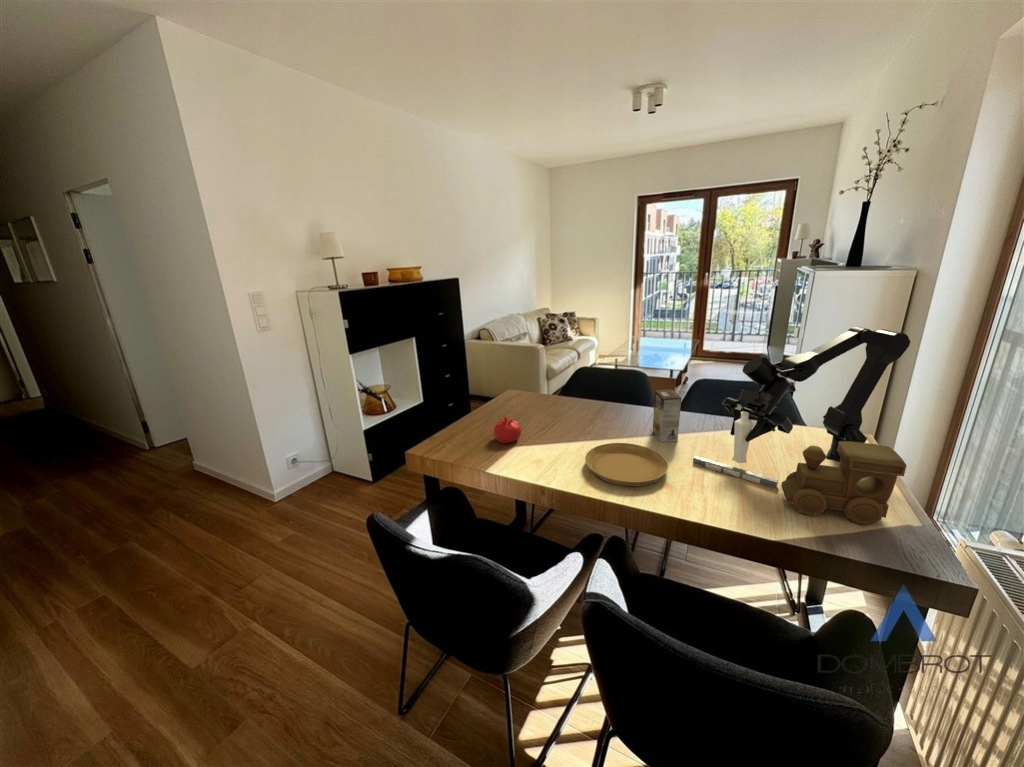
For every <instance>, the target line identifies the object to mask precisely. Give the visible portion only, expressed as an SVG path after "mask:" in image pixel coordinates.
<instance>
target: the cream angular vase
mask: <svg viewBox="0 0 1024 767" xmlns="http://www.w3.org/2000/svg"><path fill="white" fill-rule="evenodd" d="M749 416H750V415H749V413H748V412H741V418H740V419H738V420H736V421H735V431H734V435H733V436H734V438H733V439H734V441H733V444H734V445H733V456H732V459H731V460H732V461H733V462H736V463H738V464H747V463H748V460H747V454H748V451H749V450H748V449H749V445H750V441H749V442H746V440H745V439H746V437H747V436H748V434H749V433H750V432H751V430H752V429H753V428H754V426H753V425H754V424H753V421H752V420H750V419H749Z"/></svg>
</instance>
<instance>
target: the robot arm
mask: <svg viewBox="0 0 1024 767" xmlns="http://www.w3.org/2000/svg"><path fill="white" fill-rule="evenodd" d="M862 344H866V346H865V356H866V358H865V360H864V363H863V364H862V366H861V367H860V370H859V371H858V373H857V375H856V376H855V378H854V380H853V382H852V384H851V385H850V387H849V389H848V390H847V392H846V394H845V395H844V396H845V397H844V398H843V399H842V401H841V403H840V404H838V405H837V406H835V407H833V406H829V407H828V408H827V411H826V413H825V414H824V415H823V416H822V419H823V421H822V424H823V426H824V428H825V429H826V432H827V434H829V435H831V436H832V439H831V445H830V448H829V450H828V451H827V453H826V454H825V455H826V459H831V460H835V461H838V462H840V458H841V457H840V455H839V454H838V452H837V447H838V443H839V441H848V442H860V443H867V442H866V441H867V440H868V437H867V436H866V435H865V434H864V433H863V432H862V431H861V430H860V429H861V426H862V423H863V416H862V414H863V413H862V411H863V409H864V407H865V406H866V404H867V403H868V400H869V398H870V397H871V394H872V393H873V392H874V390H875V388H876V387H877V384H878V383H879V381H880V380H881V378H882V376H883V375H884V373H885V371H886V369H887V367H888V366H889V365H890V364H892V363H894V362H895V361H896V360H898V359H900V358H901V357H902V356H903V354H905V352H906V351H907V350H908V349H909V347H910V345H911V340H910V338H909V336H908V335H907V334H906V333H904V332H898V331H893V330H889V329H885V328H884V329H881V328H880V329H878V330H876V331H875V330H871V329H869V328H866V327H860V326H852V327H850V328H849V329H848V330H847V331H845V332H843V333H841V334H840V335H838V336H836V337H834V338H832V339H830V340H828V341H826V342H825V343H823V344H820V345H819V346H817V347H816V348H813V349H812V350H810V351H807V352H802V353H801V352H800V353H796V354H794V355H791V356H788V357H785V358H784V359H782V360H781V361H777V362H774V363H773V362H771V361H769V359H768V358H767V357H766V356H764V355H762V354H761V355H759V356H758V357H757V358H753V359H751V360H749V361H747V362H745V364H744V365H743V367H742V373H743V374H745V376H746V377H748V379H750V380H751V381H753V382H754V384H756V385H758V386H762V387H760V388H759V390H758V389H755V390H754V392H753V391H750V390H747V389H743V388H742V389H741V391H740V395H739V397H738V399H735V398H732V397H726V398H725V399H724V400H723V401H722V403H721V404H722V405H723V407H725V409H726V410H727V411H728V412H729V413H730V414H731V415H733V420H732V424H731V429H730V436H734V431H735V421H736V420H738V419H740V418H741V412H748V413H749V416H751V417H753V418H757V419H756V423H755V425H754V426H753V427H752V430H751V432H750V433H749V434H748V436H747V437H746V439H745V440H746V442H749V443H750V442H751V441H753V440H754V439H757V438H758V437H760V436H763V435H766V434H768V433H770V432H774V433H775V432H776V428H777V430H778V431H779V432H781V433H782V432H783V433H785V434H787V435H789V434H790V433H791V431H792V430H793V429H794V427H793V423H792V422H791V420H790V419H789V417H788V416H787V415H786V414H785V415H784V414H781V413H779V412H775V411H774V409H775V408H776V409H779V407H780V406H781V405H780V403H779V402H780V401H781V399H782V398H783V396H785V394H786V393H787V392H792V393H793V392H794V393H795V392H797V390H796V386H795V383H794V382H799V383H800V382H804V381H806V380H808V379H809V378H811V377H812V376H813V375H815V374H816V373H817V372H818V370H819V368H820V367H822V366H823V365H824V364H827V363H828V362H830V361H832V360H834V359H836V358H838V357H839V356H842V355H843V354H844V355H845V353H847V352H849V351H851V350H852V349H855V348H857V347H859V346H860V345H862ZM779 375H780V376H779ZM787 379H789V380H792V381H789V380H787ZM741 401H743V402H744V405H745V406H744V405H743V403H741Z"/></svg>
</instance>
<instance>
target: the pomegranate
mask: <svg viewBox="0 0 1024 767" xmlns="http://www.w3.org/2000/svg"><path fill="white" fill-rule="evenodd" d="M509 418H510V417H508V416H503V419H502V418H498V419H499V421H497V423H496V424H495V425H494V428H493V436H494V438H495V440H496V441H497V442H499V443H501V444H510V443H513V442H516V441H517V440H519V439H520V436H521V433H522V427H521V425H520V423H519V422H518V421H516V419H514V418H511V419H509Z"/></svg>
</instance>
